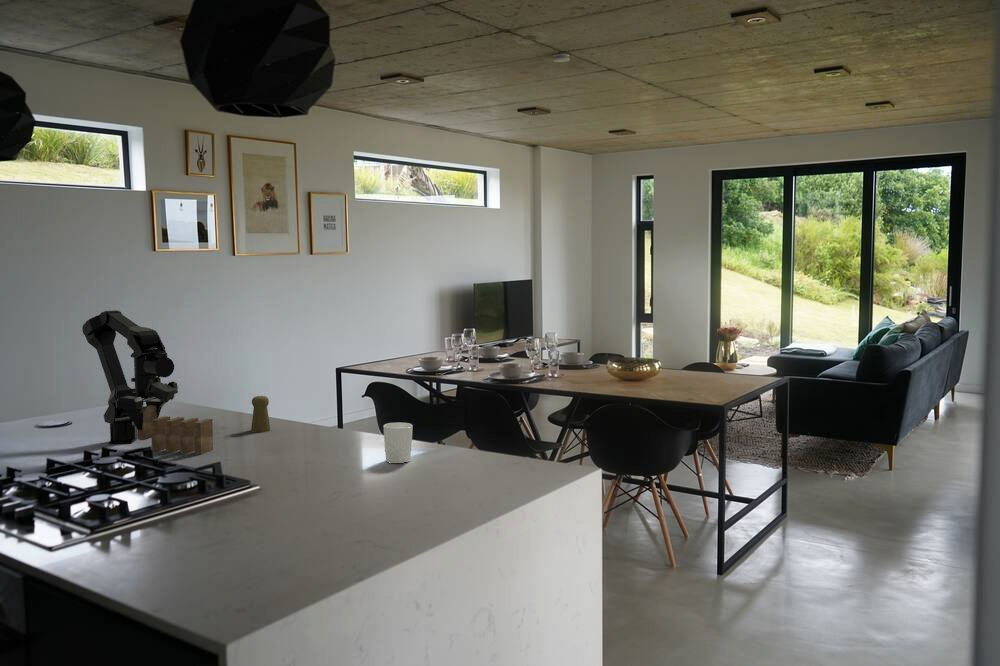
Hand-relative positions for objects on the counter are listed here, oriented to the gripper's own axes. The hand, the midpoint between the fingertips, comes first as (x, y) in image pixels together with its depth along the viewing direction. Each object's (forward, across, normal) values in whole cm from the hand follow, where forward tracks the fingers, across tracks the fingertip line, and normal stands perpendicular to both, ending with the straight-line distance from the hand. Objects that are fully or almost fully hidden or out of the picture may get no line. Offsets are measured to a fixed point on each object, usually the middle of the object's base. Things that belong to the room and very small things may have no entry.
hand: (147, 427), depth 230 cm
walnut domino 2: (+6, 0, -5) cm, 8 cm away
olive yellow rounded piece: (+6, +30, -20) cm, 36 cm away
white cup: (+6, +4, -75) cm, 75 cm away
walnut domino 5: (+6, 0, -18) cm, 19 cm away
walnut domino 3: (+6, 0, -9) cm, 11 cm away
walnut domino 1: (+3, 0, 0) cm, 3 cm away
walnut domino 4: (+6, 0, -14) cm, 15 cm away
